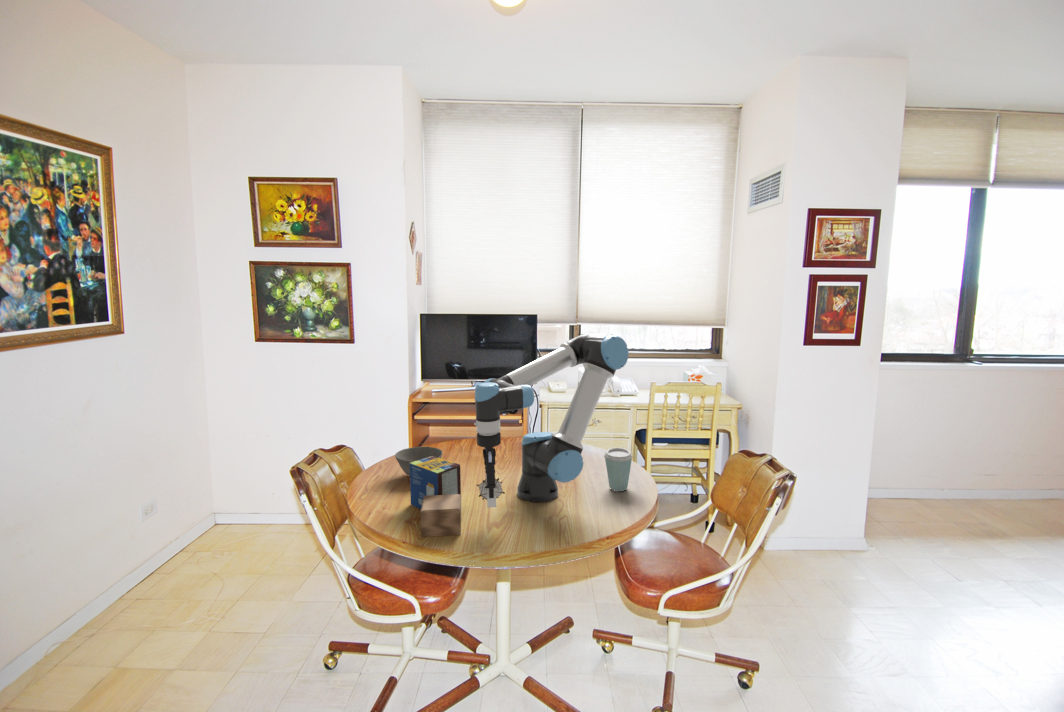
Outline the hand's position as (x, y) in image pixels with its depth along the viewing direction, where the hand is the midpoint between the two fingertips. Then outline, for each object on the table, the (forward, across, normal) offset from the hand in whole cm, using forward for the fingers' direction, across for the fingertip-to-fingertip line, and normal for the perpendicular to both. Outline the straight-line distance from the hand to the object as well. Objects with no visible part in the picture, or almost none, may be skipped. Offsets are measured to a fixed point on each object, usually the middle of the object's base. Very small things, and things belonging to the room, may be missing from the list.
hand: (490, 499), depth 159 cm
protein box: (+8, -17, -19) cm, 27 cm away
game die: (0, 0, 0) cm, 1 cm away
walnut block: (+8, -1, -16) cm, 18 cm away
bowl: (+8, -46, -27) cm, 54 cm away
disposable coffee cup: (+10, -24, +49) cm, 55 cm away
